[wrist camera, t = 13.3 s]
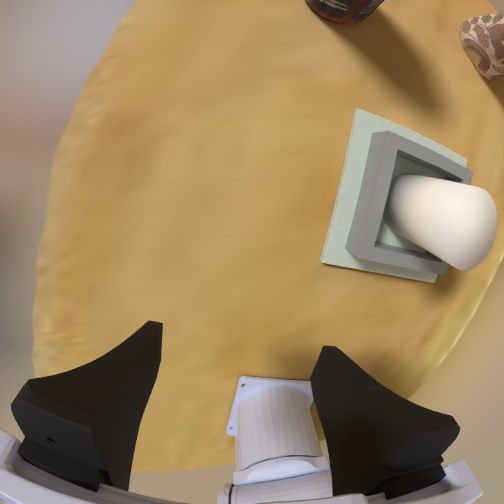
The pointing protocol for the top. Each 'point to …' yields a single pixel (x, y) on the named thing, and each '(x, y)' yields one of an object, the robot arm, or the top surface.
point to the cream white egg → (442, 218)
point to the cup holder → (384, 198)
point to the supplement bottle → (344, 9)
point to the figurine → (485, 44)
